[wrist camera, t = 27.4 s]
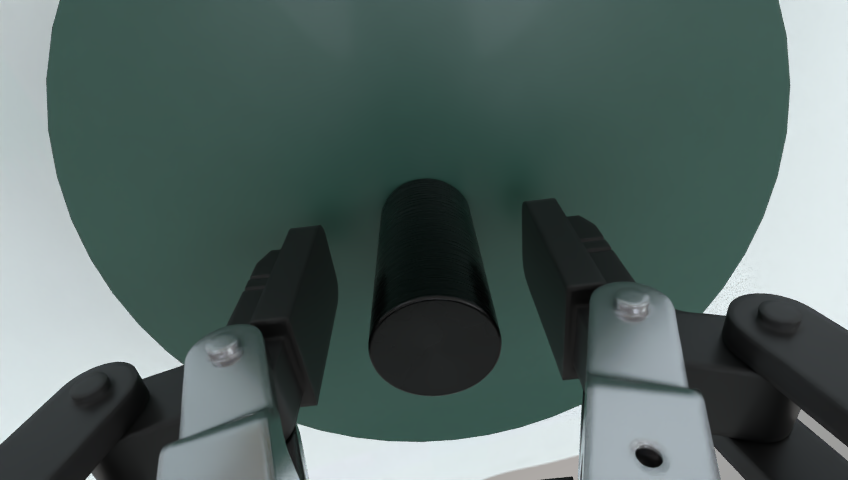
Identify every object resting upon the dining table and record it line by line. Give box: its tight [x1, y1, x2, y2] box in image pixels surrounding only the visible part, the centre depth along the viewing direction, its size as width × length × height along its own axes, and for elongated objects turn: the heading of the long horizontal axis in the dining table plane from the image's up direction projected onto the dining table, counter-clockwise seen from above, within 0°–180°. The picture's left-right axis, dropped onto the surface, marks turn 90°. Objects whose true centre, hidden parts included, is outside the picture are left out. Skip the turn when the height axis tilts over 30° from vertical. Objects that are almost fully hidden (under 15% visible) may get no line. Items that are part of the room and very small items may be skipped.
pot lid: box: [46, 0, 790, 442], centre depth 11 cm, size 19×19×6 cm
